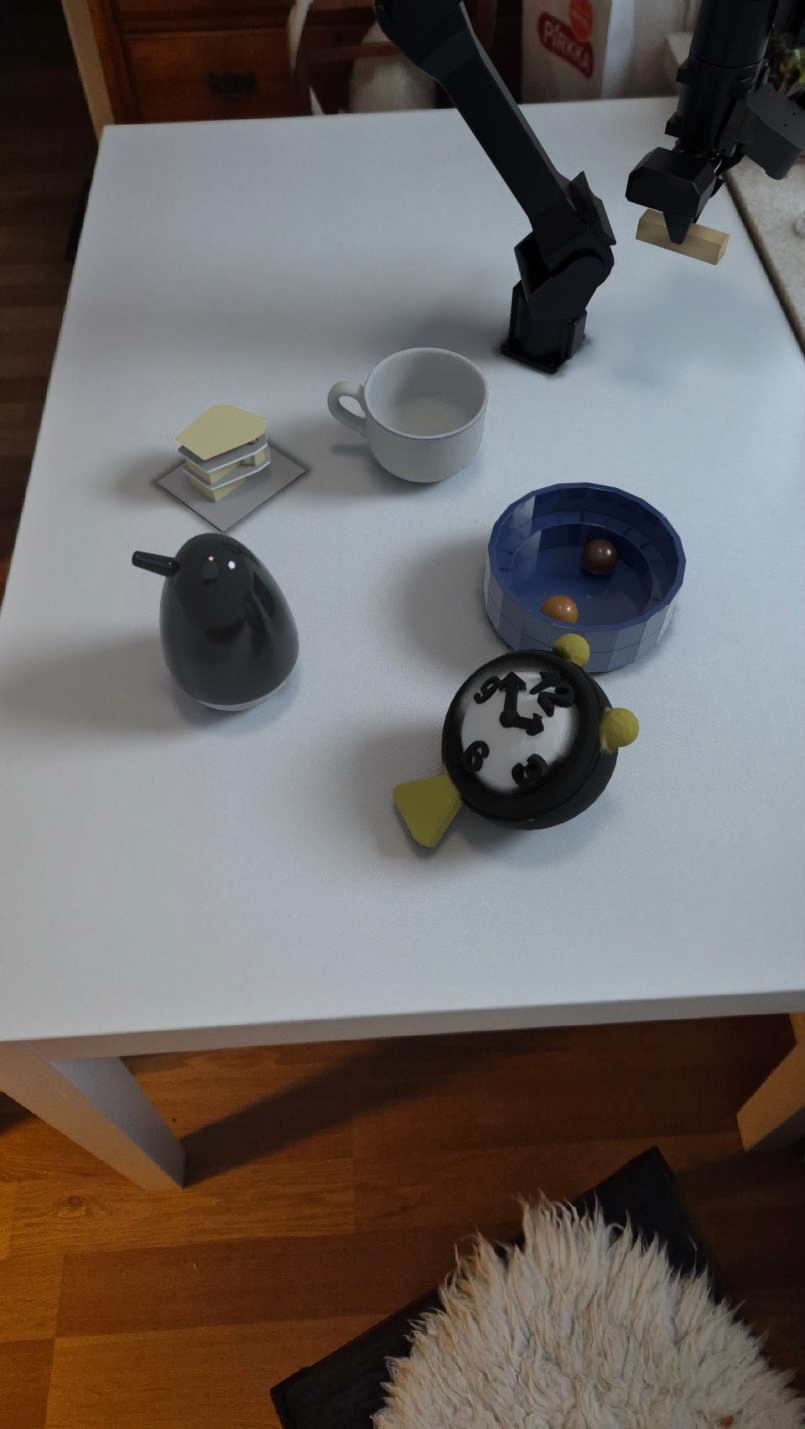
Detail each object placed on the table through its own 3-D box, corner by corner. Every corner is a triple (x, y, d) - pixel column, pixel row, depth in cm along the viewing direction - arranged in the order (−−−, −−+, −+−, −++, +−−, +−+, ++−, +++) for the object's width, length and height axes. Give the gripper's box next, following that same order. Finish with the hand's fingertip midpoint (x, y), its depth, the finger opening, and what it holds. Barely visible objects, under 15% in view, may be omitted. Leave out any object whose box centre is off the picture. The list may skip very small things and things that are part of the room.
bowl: (449, 623, 82) (451, 576, 77) (539, 508, 89) (547, 457, 84) (617, 708, 78) (631, 663, 73) (698, 579, 85) (717, 530, 79)
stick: (634, 239, 94) (638, 218, 92) (643, 228, 94) (647, 207, 93) (716, 266, 91) (721, 245, 90) (724, 254, 92) (730, 234, 90)
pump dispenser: (182, 623, 83) (139, 489, 70) (308, 625, 82) (289, 491, 69) (162, 729, 77) (112, 605, 64) (298, 732, 77) (274, 608, 64)
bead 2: (572, 573, 84) (577, 549, 82) (588, 550, 86) (594, 526, 83) (604, 588, 83) (610, 564, 81) (620, 565, 85) (627, 540, 82)
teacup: (497, 432, 94) (504, 361, 87) (463, 513, 89) (467, 444, 82) (358, 400, 97) (353, 329, 90) (316, 477, 91) (308, 407, 85)
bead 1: (531, 630, 81) (535, 606, 79) (549, 605, 82) (553, 581, 80) (564, 646, 80) (569, 623, 78) (581, 621, 82) (587, 597, 79)
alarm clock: (426, 750, 80) (467, 584, 72) (602, 815, 78) (666, 650, 69) (373, 836, 71) (412, 656, 62) (571, 913, 68) (641, 736, 60)
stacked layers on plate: (223, 532, 88) (213, 486, 83) (157, 482, 91) (143, 436, 86) (305, 471, 92) (299, 424, 87) (239, 425, 95) (230, 378, 90)
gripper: (785, 134, 72) (726, 321, 85) (865, 26, 81) (801, 212, 94) (641, 93, 75) (606, 280, 89) (733, -7, 84) (689, 177, 97)
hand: (681, 236), depth 92 cm, fingers closed on stick, 2 cm apart
